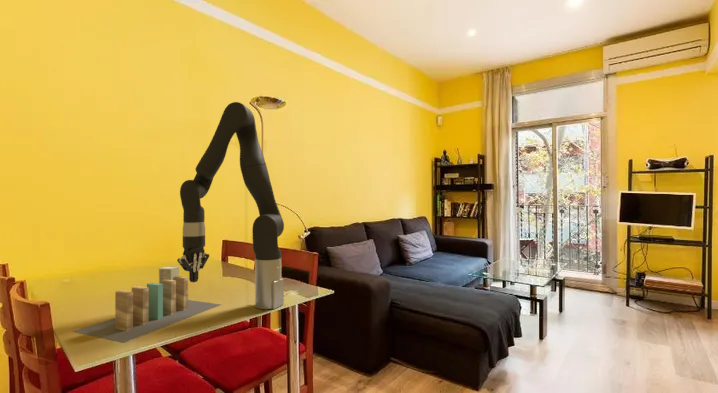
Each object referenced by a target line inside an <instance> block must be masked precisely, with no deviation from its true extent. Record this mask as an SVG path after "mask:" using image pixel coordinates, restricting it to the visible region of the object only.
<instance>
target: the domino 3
mask: <svg viewBox="0 0 718 393" xmlns="http://www.w3.org/2000/svg"><path fill="white" fill-rule="evenodd" d="M146 287H148V288H149V312H148V318H151V319H157V320H158V319H161V318H163V284H160V283H159V282H149V283H146Z"/></svg>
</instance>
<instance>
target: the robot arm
mask: <svg viewBox="0 0 718 393" xmlns="http://www.w3.org/2000/svg"><path fill="white" fill-rule="evenodd" d="M257 132H258V131H257V126H256V119H255V115H254V113H253V112H252V110H251V109H249V107H247V106H246V105H245V104H244V103H242V102H238V101H234V102H231V103H228V105H227V106H225V108H224V110H223V112H222V114H221V117H220V120H219V123H218V124H217V127H216V130H215V132H214V135H213V136H212V138H211V140H210V143H209V145H208V146H207V148H206V150H205V152H204V153H203V154H202V156H201V158H200V159H199V162H198V163H197V165H196V167H195V173H196V174H195V176H194V178H193V179H187V180H185V181H183V182H182V184H181V186H180V189H179V197H180V201H181V206H182V209H183V216H182V217H183V219H182V220H183V224H182V249H183V252H182V256H181V257H180V258H179V257H178V258H177V263H178V264H179V265H180V267H181V268H182V269H183V270H184V271H185V272H188V274H189V276H188V281H189V282H190V283H197V282H198V280H199V271H200V270H201V269H202V270H203V269H204V267H205V265H206V263H207V261H208V260H209V258H210V254H208V253H206V252H205V246H206V225H205V219H206V218H205V208H204V207H203V206H202V204H201V199H203V198H204V197H206V195H207V194H208V193H209V190H210V188H211V187H212V184H213V181H214V178H215V176H216V175H217V173H218V171H219V169H220V168H221V166H222V164H223V162H224V160H225V158H226V156H227V152H228V151H227V150H228V148H229V145H230V142H231V140H232V138H233V136H234V135H235V134H236V137H237V141H238V144H239V166H240V168H239V169H240V172H241V174H242V179H243V180H242V181H243V182H244V185H245V186H246V189H247V190H248V192H249V193H250V195H251V197H252V198H253V200H254V201H255V204H256V207H257V209H258V212H259V213H258V214H259V216H257V217H256V218H255V220H254V221H253V223H252V232H251V233H252V250H253V252H254V257H255V259H254V260H255V262H254V263H255V264H254V265H255V267H254V271H255V272H254V275H255V276H254V278H255V280H254V284H255V285H254V288H255V289H254V290H255V291H254V293H255V294H254V296H255V298H254V299H255V300H254V302H255V304H254V306H255V308H257V309H260V310H275V309H277V308H279V307H282V306H284V305H285V303H284V302H285V298H284V297H285V295H284V294H285V288H284V286H285V284H284V282H285V279H284V278H283V277H282V250H281V249H280V247H279V244H278V239H279V237H280V236H281V235H282V234H283V232H284V229H285V224H284V219H283V217H282V214H281V213H280V212H281V211H280V210H279V207H278V205H277V204H278V203H277V202H276V199H275V194H274V190H273V187H272V183H271V179H270V174H269V171H268V167H267V163H266V161H265V157H264V153H263V150H262V147H261V144H260V142H259V138H258V133H257Z"/></svg>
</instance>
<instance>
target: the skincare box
mask: <svg viewBox="0 0 718 393" xmlns="http://www.w3.org/2000/svg"><path fill="white" fill-rule="evenodd" d="M176 276H180V266H168V265H166V266H164V267H159V268H158V281H159V282H158V283H160V280H164V279H167V280H173V277H176Z"/></svg>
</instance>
